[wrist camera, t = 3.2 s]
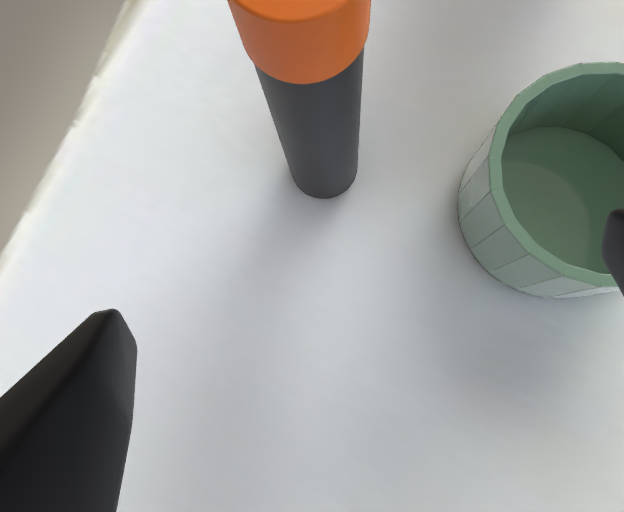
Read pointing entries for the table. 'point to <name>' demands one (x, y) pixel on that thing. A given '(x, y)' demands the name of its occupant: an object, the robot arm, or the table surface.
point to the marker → (310, 82)
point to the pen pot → (549, 184)
